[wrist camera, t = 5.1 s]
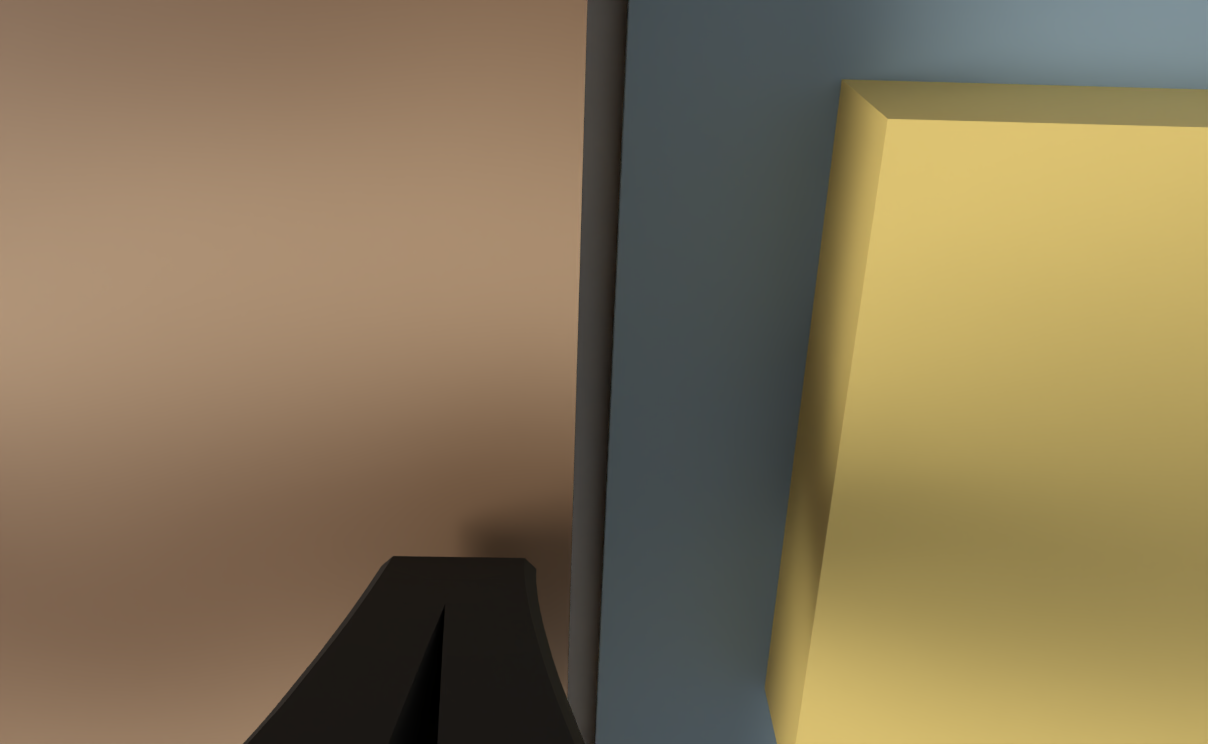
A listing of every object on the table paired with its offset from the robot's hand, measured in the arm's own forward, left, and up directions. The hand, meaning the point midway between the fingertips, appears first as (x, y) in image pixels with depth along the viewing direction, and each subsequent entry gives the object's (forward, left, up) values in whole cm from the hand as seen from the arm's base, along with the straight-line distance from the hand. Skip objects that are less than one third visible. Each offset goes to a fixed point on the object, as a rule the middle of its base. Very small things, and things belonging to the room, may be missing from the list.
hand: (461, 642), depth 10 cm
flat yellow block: (0, -7, -2) cm, 7 cm away
